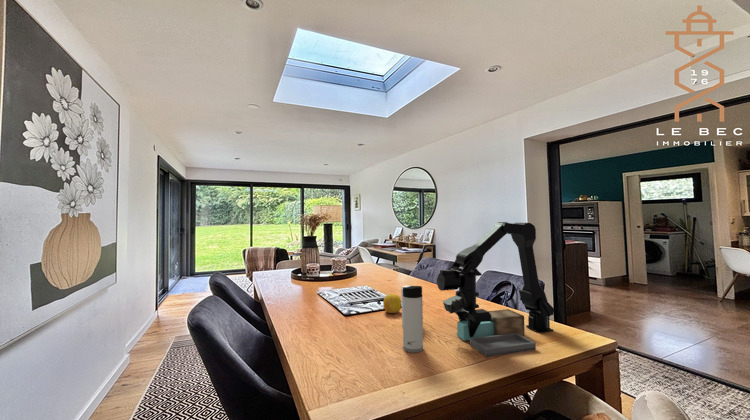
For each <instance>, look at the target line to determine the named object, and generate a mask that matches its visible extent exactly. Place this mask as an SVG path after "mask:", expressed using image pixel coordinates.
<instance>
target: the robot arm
mask: <svg viewBox="0 0 750 420" xmlns="http://www.w3.org/2000/svg"><path fill="white" fill-rule="evenodd" d="M536 232H537V229H536V226H535V225H534V224H532V223H531V222H514V223H512V222H511V223H510V222H507V221H498V222H496V223H495V224H494V226H493V227H492V228H491V229H490V230H488V232H486V233H485V234H484V235H483V236H482V237H481V238H480V239H478V240H477V241H476V242H475V244H473V245H471V246H469V247H467V248H464V249H463V250H461V251H459V252H458V253H457V254H456V256H455V260H454V261H453V263H452V265H451V266H450V267H449V269H440V270H439V273H438V275H437V278H436V286H437V288H438V290H439V291H440V292H442V291H455V290H456V291H455V295H453V296H451V297H449V298H446V299H445V300H443V301H442V303H443V307H444V310H445V311H446V312H448V313H449V314H455V315H456V316H457V317H458V321H468V327H469V335H470V337H473V336H474V334H475V332H476V330H477V328H478V326H479V325H480V323H481V322H487V321H491V314H490V313H489V312H488V311H487V310H485V309H483V308H480V304H478V303H477V297H479V295H480V294H479V292H478V291H477V277H478V276H479V277H480V276H482V275H483V274H482V273H481V272H480V271H479V270H478V267H479V265H480V264H481V263H482V262H483V259H484V256H485V255H486V253H488V252H489V251H490V250H491V249H492V248H493V247H494V246H495V245H496V244H497V243H498V242H499V241H501V240H502V239H503V237H505V236H506V235H507V234H508V235H510V236H511V239H512V241H513V242H514V244H515V245H516V246H517V247H516V248H517V250H518V256H519V262H520V268H521V274H522V279H523V284H524V285H523V286H522V289H519V290H518V293H519V301H521V303H522V304H523V306H524V309H525V310H526V311H528V317H527V318H528V319H527V320H528V322H527V323H528V324H526V325H525V327H526V328H529V329H530V330H532V331H534V332H536V333H540V334H541V333H548V332H554V329H553V328H551V327H550V317H551V316H554V314H555V308H554V307H553V306H552V305H551V304H550V303H549V302H548V301H549V300H548V298H547V295H546V292H545V290H544V289H543V288H542V287H541V285H540V283H539V282H540V281H539V276H538V269H537V265H536V264H537V263H536V258H535V257H536V256H535V252H534V244H535V242H536V240H537V233H536Z"/></svg>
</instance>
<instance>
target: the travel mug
mask: <svg viewBox="0 0 750 420" xmlns="http://www.w3.org/2000/svg"><path fill="white" fill-rule="evenodd" d="M409 286H410V287H403V286H402V287H403V326H402V345H403V346H402V348H403V350H404V351H406V352H407V353H413V354H415V353H416V354H417V353H420V352H422V351H423V350H424V327H423V326H424V324H423V323H424V320H423V319H424V316H423V314H424V312H423V311H424V310H423V308H424V307H423V306H424V305H423V286H421V285H409Z"/></svg>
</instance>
